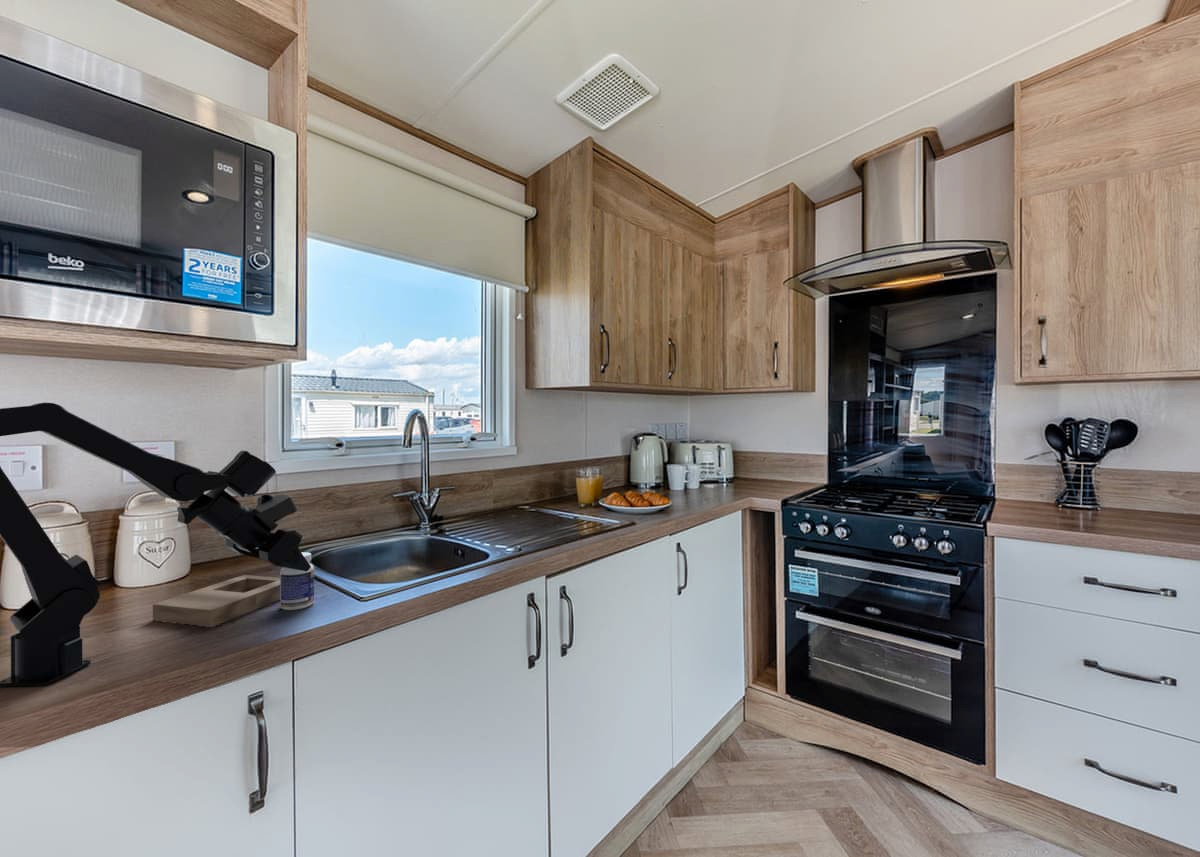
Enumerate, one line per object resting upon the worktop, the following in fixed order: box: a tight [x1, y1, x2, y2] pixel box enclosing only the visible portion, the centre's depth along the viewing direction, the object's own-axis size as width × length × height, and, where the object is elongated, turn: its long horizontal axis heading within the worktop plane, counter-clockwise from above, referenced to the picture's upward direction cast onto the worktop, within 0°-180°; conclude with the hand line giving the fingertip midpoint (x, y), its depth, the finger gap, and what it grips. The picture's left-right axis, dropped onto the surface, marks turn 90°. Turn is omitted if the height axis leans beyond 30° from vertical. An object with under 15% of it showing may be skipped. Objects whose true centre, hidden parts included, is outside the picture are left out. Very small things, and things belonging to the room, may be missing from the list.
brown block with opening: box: [152, 574, 280, 628], centre depth 97 cm, size 18×13×3 cm
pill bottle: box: [279, 551, 315, 611], centre depth 98 cm, size 6×6×10 cm
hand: (297, 565), depth 98 cm, fingers open, 9 cm apart
